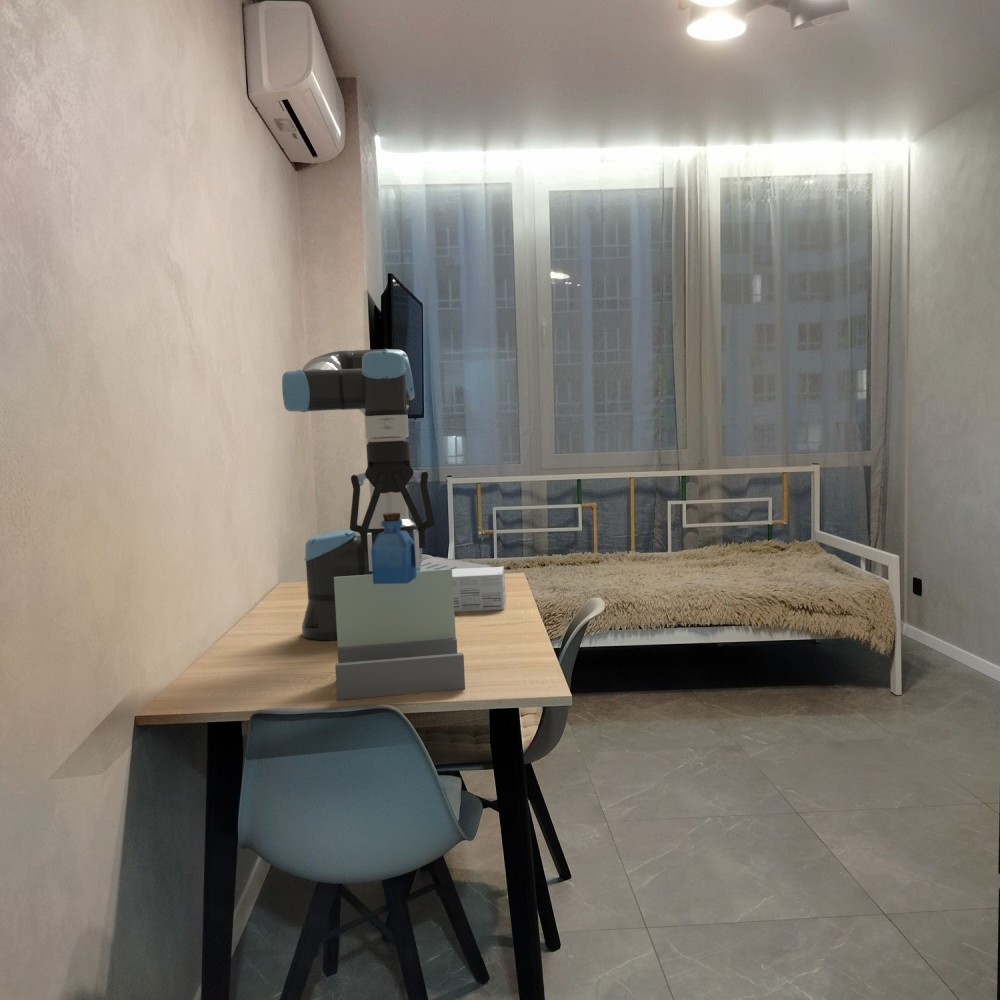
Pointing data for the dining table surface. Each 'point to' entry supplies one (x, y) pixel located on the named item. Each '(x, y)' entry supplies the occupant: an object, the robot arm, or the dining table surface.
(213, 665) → the dining table surface
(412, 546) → the perfume bottle
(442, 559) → the warehouse
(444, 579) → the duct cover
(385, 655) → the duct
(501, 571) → the supplement box
